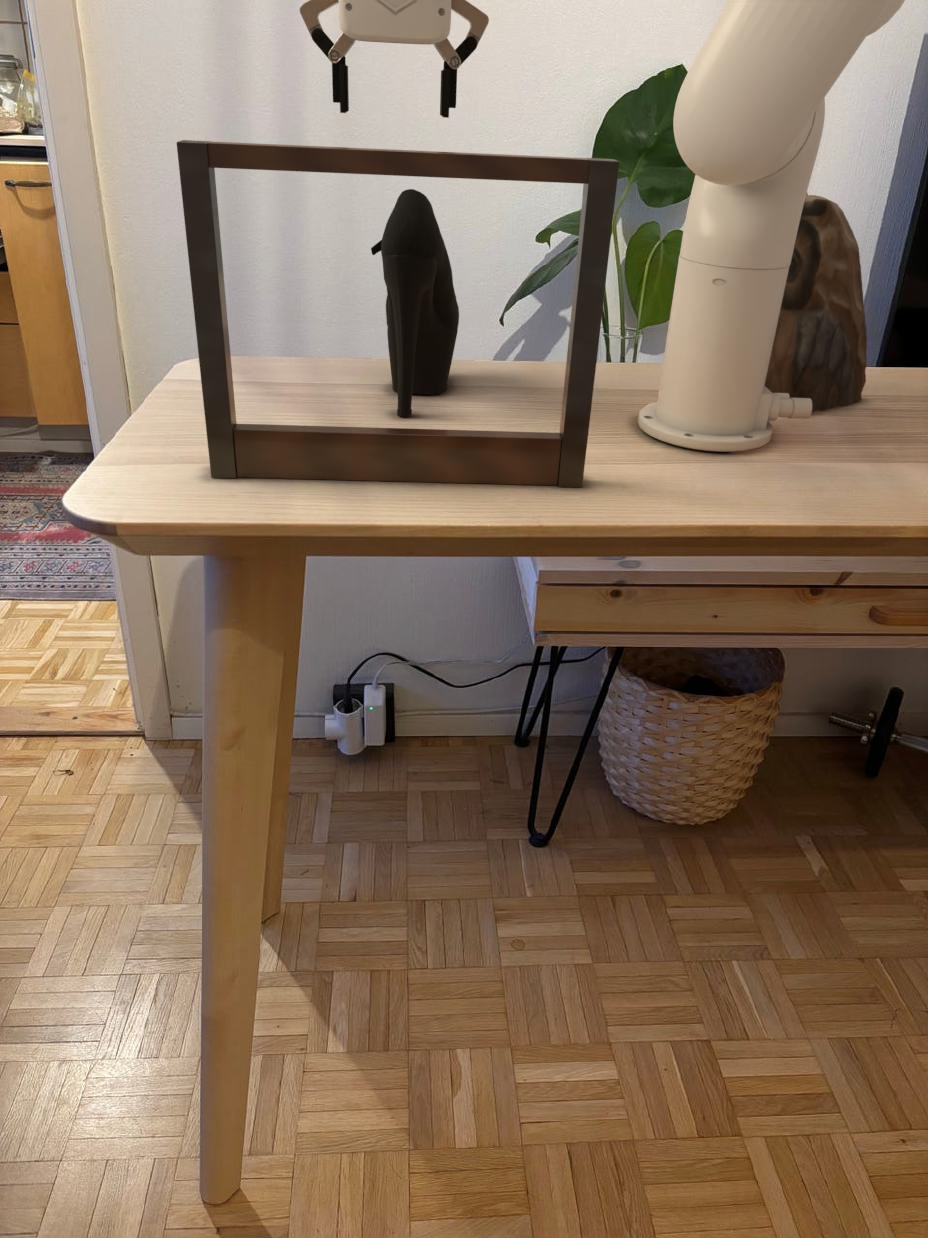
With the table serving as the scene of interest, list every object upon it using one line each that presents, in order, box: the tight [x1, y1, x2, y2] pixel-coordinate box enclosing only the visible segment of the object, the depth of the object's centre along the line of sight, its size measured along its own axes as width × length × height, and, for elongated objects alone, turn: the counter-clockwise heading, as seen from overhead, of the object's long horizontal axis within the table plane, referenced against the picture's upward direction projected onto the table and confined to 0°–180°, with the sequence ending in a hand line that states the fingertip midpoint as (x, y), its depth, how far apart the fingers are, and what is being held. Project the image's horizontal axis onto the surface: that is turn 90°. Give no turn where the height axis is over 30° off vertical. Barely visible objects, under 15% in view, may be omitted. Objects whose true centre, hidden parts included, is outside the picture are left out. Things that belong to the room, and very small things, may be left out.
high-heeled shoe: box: [370, 188, 460, 417], centre depth 90 cm, size 8×19×20 cm, turn 174°
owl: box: [764, 192, 868, 413], centre depth 96 cm, size 13×13×20 cm
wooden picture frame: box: [176, 139, 620, 488], centre depth 69 cm, size 30×2×24 cm, turn 92°
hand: (394, 114), depth 89 cm, fingers open, 9 cm apart
